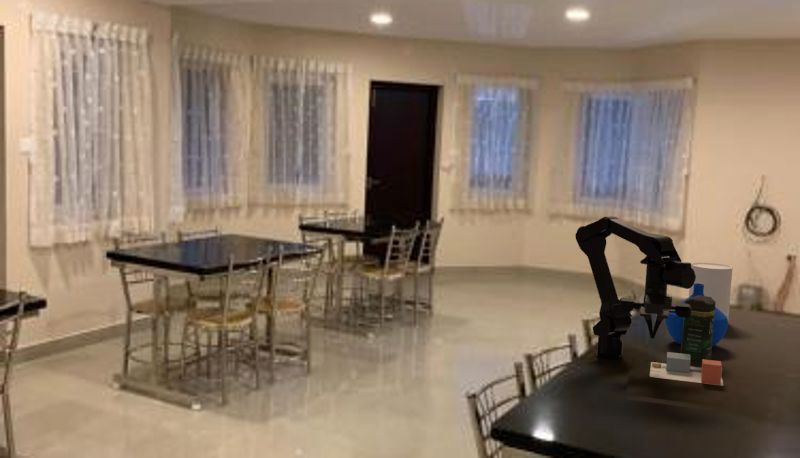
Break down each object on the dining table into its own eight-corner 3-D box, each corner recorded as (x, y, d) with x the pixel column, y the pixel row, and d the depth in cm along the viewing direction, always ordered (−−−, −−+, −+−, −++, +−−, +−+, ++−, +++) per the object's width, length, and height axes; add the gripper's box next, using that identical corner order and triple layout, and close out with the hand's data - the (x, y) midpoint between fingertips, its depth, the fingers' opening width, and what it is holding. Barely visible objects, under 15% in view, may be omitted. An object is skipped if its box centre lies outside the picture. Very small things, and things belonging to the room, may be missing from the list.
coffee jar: (705, 365, 222) (710, 301, 220) (676, 360, 227) (681, 297, 225) (714, 358, 230) (719, 296, 228) (686, 353, 235) (691, 292, 233)
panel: (649, 380, 207) (650, 369, 206) (651, 365, 221) (651, 355, 220) (723, 389, 201) (724, 377, 201) (720, 373, 215) (721, 362, 215)
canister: (734, 326, 272) (738, 269, 270) (695, 325, 272) (699, 268, 270) (719, 318, 285) (723, 263, 283) (681, 316, 285) (685, 262, 283)
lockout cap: (701, 382, 203) (702, 363, 202) (700, 377, 207) (702, 359, 206) (720, 384, 201) (721, 365, 201) (719, 380, 205) (720, 361, 205)
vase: (661, 347, 241) (665, 286, 238) (665, 334, 257) (669, 277, 255) (726, 355, 234) (731, 292, 232) (726, 341, 251) (730, 282, 248)
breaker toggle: (666, 370, 213) (666, 357, 212) (666, 364, 218) (667, 351, 218) (689, 372, 211) (690, 360, 210) (689, 366, 217) (690, 354, 216)
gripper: (618, 284, 210) (615, 341, 212) (693, 290, 204) (688, 349, 206) (621, 277, 220) (617, 332, 222) (692, 283, 214) (688, 339, 216)
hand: (652, 338), depth 216 cm, fingers closed
